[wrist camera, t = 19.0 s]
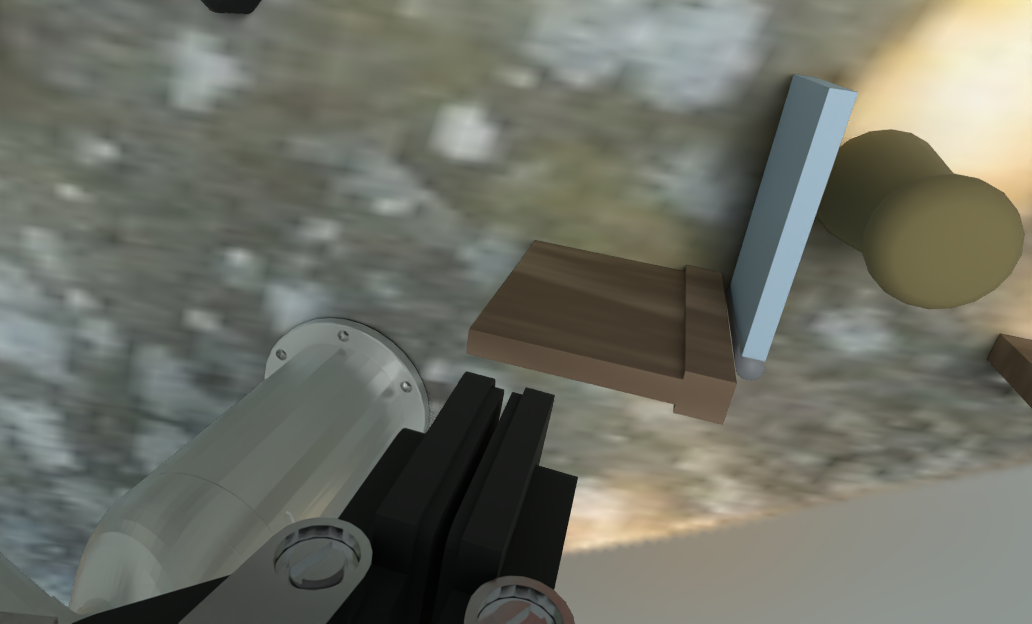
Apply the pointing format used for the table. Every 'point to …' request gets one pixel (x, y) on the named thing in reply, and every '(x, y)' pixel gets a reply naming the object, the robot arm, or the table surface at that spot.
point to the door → (784, 215)
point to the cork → (920, 221)
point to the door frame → (638, 329)
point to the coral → (231, 6)
